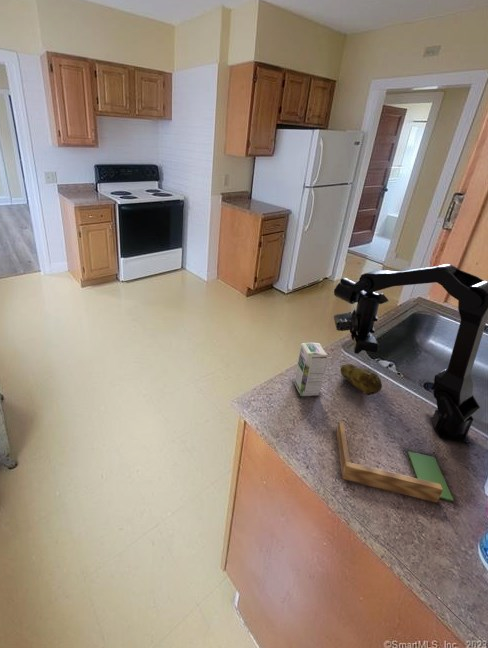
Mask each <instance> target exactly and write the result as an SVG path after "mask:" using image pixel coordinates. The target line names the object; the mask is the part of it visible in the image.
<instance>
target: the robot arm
mask: <svg viewBox="0 0 488 648" xmlns="http://www.w3.org/2000/svg"><path fill="white" fill-rule="evenodd" d="M435 283H437V284H439V285H440V286H441V287H442V288H443V289H444V290H445V291H446V292H447V294H449V296H451V297H452V298H454V299H455V300H457V301H458V303H457V311H458V314H459V317H460V322H459V326H458V330H457V332H456V337H455V339H454V344H453V347H452V351H451V354H450V358H449V361H448V366H447V368H444V369H442V371H440V372H438V373H437V374H435V375H434V378H433V385H432V387H430V389H431V390H433V392H432V395H433V398H434V399H435V400H436V409H435V411H434V413H433V415H432V416H430V417H429V418H430V422H431V423H432V425H433V428H434V429H435V431H436V433H437V435H438V437H439V438H441V439H446V440H450V441H455V442H458V443H459V442H460V443H464V444H469V443H470V440H469V438H468V437H467V435H468V433H469V431H470V429H471V426H472V424H473V423H474V420H475V419H474V417H473V415H474V414H475V413H476V412H478V411H479V410H480V409H481V406H480V405H479V403H478V402H477V400H476V397H475V396H474V394H473V392H474V381H473V378H472V372H473V371H472V370H473V367H474V364H475V360H476V357H477V354H478V351H479V347H480V345H481V342H482V338H483V334H484V331H485V328H486V324H487V322H488V281H486V280H483V279H482V278H480V277H478V276H477V275H474V274H471V273H469V272H466V271H464V270H461V269H460V268H458V267H457V266H455V265H452V264H449V263H445V264H441V265H437V266H430V267H421V268H415V269H407V270H398V271H395V270H394V271H393V270H387V269H376V270H372V271H369V272H364V273H363V274H360V277H359V280H358V281H356V282H354V281H352V280H350V279H349V278H347V277H342V278H340V281H339V283H337V284H336V286H335V288H334V290H333V295H334V297H335V298H338V299H340V300H341V301H344V302H346V303H348V304H350V305H354V304H355V303H356V308H355V307H354V308H353V309H352V311H349V312H345V313H338V314H334V315H333V320H334V324H335V329H336V331H338V332H346V331H349V333H350V337H351V340H352V342H353V353H354V354H356V355H358V354H360V353H361V352H362V351H363V352H371V353H379V350H380V344H379V341H378V340H377V338H376V337H375V336H373V334H374V333H375V326H374V325H375V323H376V322H378V321H379V318H378V316H377V314H378V310H379V306H380V305H383V304H385V303H388V302H389V299H388V298H387V297H386V295H385V293H383V292H382V293H377V292H379V291H382V290H386V289H389V288H392V287H401V286H412V285H423V284H424V285H425V284H435Z"/></svg>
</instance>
